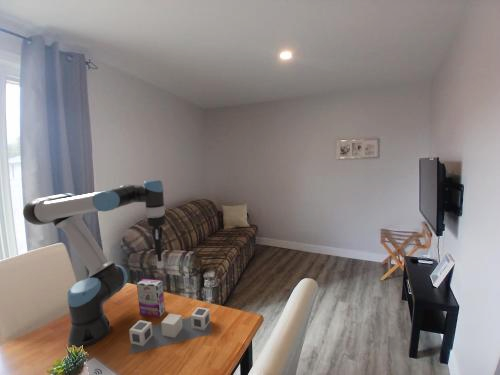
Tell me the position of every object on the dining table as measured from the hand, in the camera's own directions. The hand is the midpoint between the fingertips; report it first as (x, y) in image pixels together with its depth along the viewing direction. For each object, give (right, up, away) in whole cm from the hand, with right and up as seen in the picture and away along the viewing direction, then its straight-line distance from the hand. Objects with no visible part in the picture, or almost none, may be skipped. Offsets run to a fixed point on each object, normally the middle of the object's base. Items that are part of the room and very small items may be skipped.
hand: (160, 266), depth 110 cm
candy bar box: (-7, -26, +9) cm, 28 cm away
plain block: (+7, -27, -4) cm, 28 cm away
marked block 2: (+18, -26, 0) cm, 32 cm away
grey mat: (+7, -27, -4) cm, 28 cm away
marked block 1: (-5, -27, -8) cm, 29 cm away
